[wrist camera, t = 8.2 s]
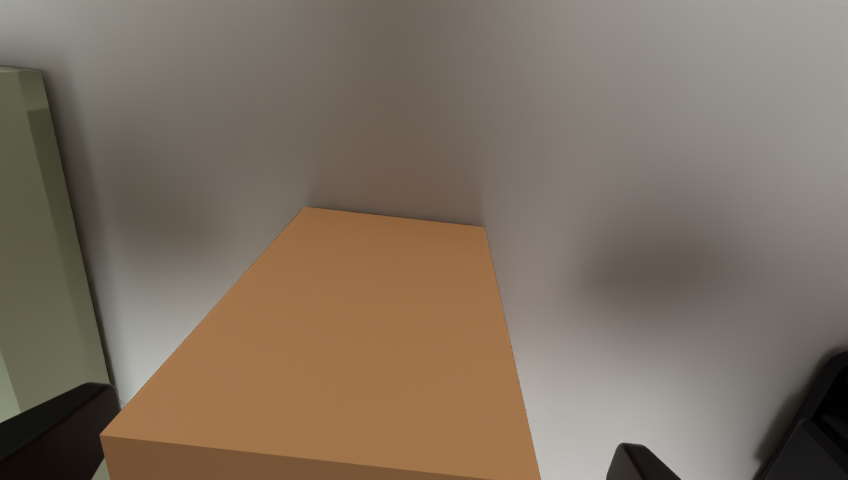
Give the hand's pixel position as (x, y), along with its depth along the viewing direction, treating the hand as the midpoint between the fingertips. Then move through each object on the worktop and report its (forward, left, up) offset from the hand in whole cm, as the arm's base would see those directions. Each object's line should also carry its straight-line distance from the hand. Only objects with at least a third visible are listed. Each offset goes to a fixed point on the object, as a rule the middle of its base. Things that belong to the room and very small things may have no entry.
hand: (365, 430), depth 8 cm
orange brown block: (0, 0, -4) cm, 4 cm away
